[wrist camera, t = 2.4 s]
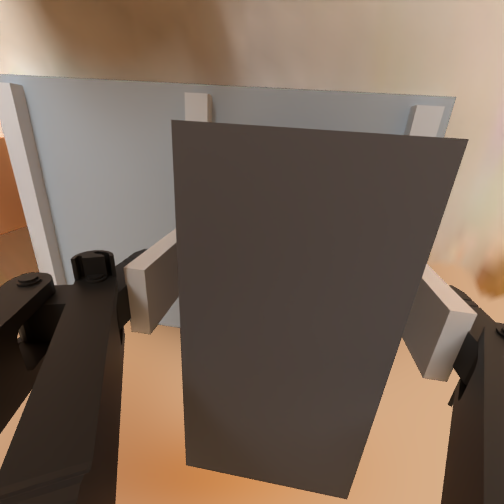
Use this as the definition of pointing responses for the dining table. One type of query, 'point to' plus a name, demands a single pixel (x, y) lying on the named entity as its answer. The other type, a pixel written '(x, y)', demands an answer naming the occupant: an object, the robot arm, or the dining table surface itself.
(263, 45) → the dining table surface
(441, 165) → the grey rectangular block
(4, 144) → the terracotta block
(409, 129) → the grey flat panel
